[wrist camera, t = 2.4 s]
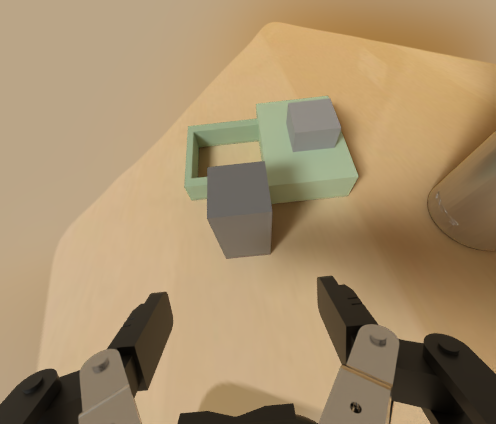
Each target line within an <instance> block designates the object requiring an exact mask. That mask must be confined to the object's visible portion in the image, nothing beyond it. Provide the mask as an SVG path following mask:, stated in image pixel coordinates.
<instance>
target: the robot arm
mask: <svg viewBox="0 0 496 424" xmlns="http://www.w3.org/2000/svg"><path fill="white" fill-rule="evenodd" d="M428 209H429V212H430V215H431V217H432V218H433V220H434V222H435V223H436V224H437V226H438V227H439V228H440V229H441V230H442V231H443V232H444V233H446V234H447V235H448V236H449V237H451V238H452V239H454V240H456V241H457V242H459V243H461V244H463V245H466V246H468V247H471V248H475V249H479V250H487V251H494V250H496V131H495V132H494V133H493V134H492V135H491V136H490V137H488V138H487V139H486V140H485V141H484V142H483V143H482V144H481V145H480V146H479V147H478V148H476V149H475V150H474V151H473V152H472V153H471V154H470V155H469V156H468V157H467V158H466V159H465V160H463V161H462V162H461V163H460V164H459V165H458V166H457V167H456V168H455V169H454V170H453V171H451V172H450V173H449V174H448V175H447V176H446V177H445V178H444V179H443V180H442V181H441V182H440V183H439V184H437V185H436V186H435V187H434V188H433V189H432V190H431V192H430V194H429V197H428ZM317 296H318V308H319V312H320V315H321V318H322V320H323V322H324V324H325V327H326V329H327V331H328V334H329V336H330V338H331V340H332V343H333V345H334V347H335V350H336V352H337V354H338V356H339V359H340V361H341V363H342V365H341V367H340V369H339V372H338V374H337V377H336V380H335V382H334V385H333V387H332V390H331V392H330V395H329V398H328V400H327V403H326V405H325V408H324V410H323V413H322V416H321V418H320V421H319V423H316V422H315V421H313V420H310V419H309V418H306V417H304V416H301V415H296V414H295V410H294V405H293V404H282V405H271V406H264V407H261V408H259V409H256V410H253V411H251V412H249V413H246V414H243V415H241V416H237V417H233V416H228V415H223V414H219V413H214V412H210V411H204V412H192V413H181V414H180V416H179V420H178V424H391V420H392V413H393V406H394V401H396V402H400V403H405V404H409V405H413V406H417V407H421V408H422V410H423V412H424V413H425V415H426V416H427V418H428V420H429V421H430V423H431V424H496V374H495V373H494V372H493V371H492V370H491V369H490V368H489V367H488V366H487V365H486V364H485V363H484V362H483V361H482V360H481V359H480V358H479V357H478V356H477V355H476V354H475V353H474V352H473V351H472V350H471V349H470V348H469V347H468V346H467V345H465V344H464V343H463V342H461V341H459V340H457V339H455V338H453V337H451V336H448V335H444V334H437V333H434V334H429V335H427V336H426V337H425V338H424V344H423V343H417V342H411V341H405V340H401V339H398V338H397V336H396V335H395V334H394V333H393V332H392V331H391V330H389V329H387V328H385V327H383V326H380V325H378V324H377V322H376V321H375V319H374V318H373V317H372V315H371V314H370V313H369V311H368V310H367V309H366V307H365V306H364V304H362V302H361V300H360V299H359V298H358V296H357V295H356V294H355V292H354V291H353V290H352V289H351V288H349V287H348V286H346V285H345V284H344V285H338V283H337V282H336V280H335V279H334V277H333V276H324V277H318V278H317ZM172 327H173V315H172V310H171V306H170V302H169V297H168V294H167V292H159V293H151V294H150V295H149V297H148V299H147V300H146V302H145V303H144V304H140V305H139V306H138V307H137V308H136V309H134V310H133V311H132V313H131V314H130V316H129V317H128V319H127V321H126V322H125V323H124V325H123V327H121V329H120V330H119V332H118V333H117V335H116V336H115V338H114V339H113V341H112V342H111V344H110V345H109V347H108V348H107V350H103V351H101V352H99V353H97V354H95V355H93V356H92V357H91V358H89V359H88V360H87V361H86V362H85V363H84V365H83V366H82V368H81V370H79V371H76V372H73V373H71V374H68V375H65V376H62V377H59V376H58V374H57V372H56V370H54V369H45V370H41V371H39V372H36V373H35V374H33V375H31V376H29V377H28V378H26V379H25V380H23V381H22V382H21V383H20V384H19V385H17V386H16V387H15V389H14V390H13V391H12V392H11V393H10V394H9V395H8V396H7V398H6V399H5V400H4V401H3V402H2V403H1V404H0V424H142V422H141V419H140V416H139V413H138V409H137V406H136V403H135V400H134V397H135V395H136V393H137V391H143V390H148V388H149V385H150V383H151V380H152V378H153V375H154V373H155V370H156V368H157V365H158V363H159V360H160V358H161V355H162V353H163V350H164V348H165V345H166V343H167V340H168V338H169V335H170V333H171V330H172Z"/></svg>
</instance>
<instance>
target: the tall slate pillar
mask: <svg viewBox="0 0 496 424" xmlns="http://www.w3.org/2000/svg"><path fill="white" fill-rule="evenodd" d="M207 219H208V221H209V224H210V226H211V228H212V230H213V232H214V234H215V236H216V238H217V240H218V242H219V244H220V246H221V248H222V251H223V253H224V255H225V257H226V259H229V258H239V257H249V256H259V255H269V254H271V232H272V206H271V199H270V192H269V186H268V179H267V172H266V165H265V161H262V162H252V163H243V164H234V165H225V166H215V167H207Z"/></svg>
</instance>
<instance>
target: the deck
mask: <svg viewBox="0 0 496 424" xmlns="http://www.w3.org/2000/svg"><path fill="white" fill-rule="evenodd" d="M256 114H257V119H250V120H241V121H232V122H223V123H214V124H205V125H196V126H188V136H187V153H186V169H185V186H184V187H185V189H186V191H187V193H188V195H189V197H190V199H191V200H199V199H207V177H200V178H198V162H199V147H207V146H216V145H226V144H235V143H244V142H253V141H259V144H260V151H261V158H262V161H265V165H266V172H267V179H268V186H269V192H270V199H271V204H276V203H286V202H295V201H305V200H315V199H324V198H334V197H344V196H348V195H349V193H350V191H351V189H352V188H353V186H354V184H355V182H356V180H357V179H358V177H359V176H358V173H357V171H356V168H355V166H354V163H353V160H352V158H351V155H350V153H349V150H348V147H347V145H346V142H345V139H344V137H343V134H342V132H341V125H340V123H339V120H338V118H337V115H336V112H335V110H334V107H333V105H332V102H331V99H330V98H328V96H322V97H313V98H304V99H295V100H286V101H278V102H269V103H260V104H256Z"/></svg>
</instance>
